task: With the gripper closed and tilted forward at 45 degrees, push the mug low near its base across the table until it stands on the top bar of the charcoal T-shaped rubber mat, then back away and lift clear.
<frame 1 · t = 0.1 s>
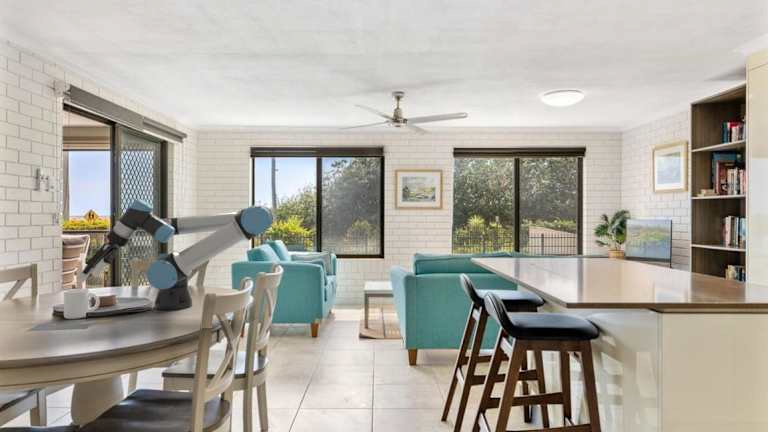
hand: (87, 277, 188), 15 cm above the table, tool tilted 35°, fingers open, 13 cm apart
mug: (82, 316, 188), on the table
t mat: (68, 323, 177), on the table
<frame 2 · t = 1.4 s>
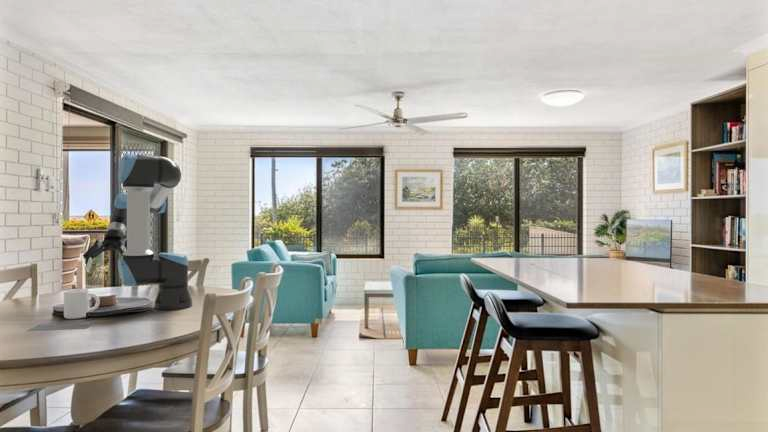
hand: (103, 270, 211), 15 cm above the table, tool tilted 45°, fingers open, 12 cm apart
nothing on the table moved.
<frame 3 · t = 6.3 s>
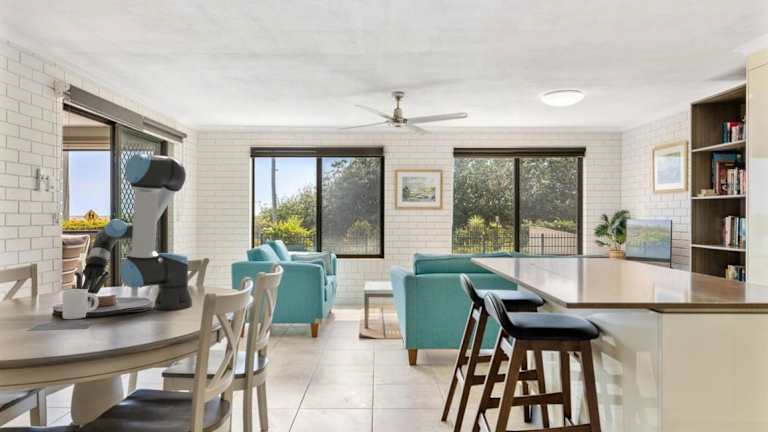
hand: (81, 307, 192), 3 cm above the table, tool tilted 45°, fingers closed
mug: (80, 316, 188), on the table, touching gripper
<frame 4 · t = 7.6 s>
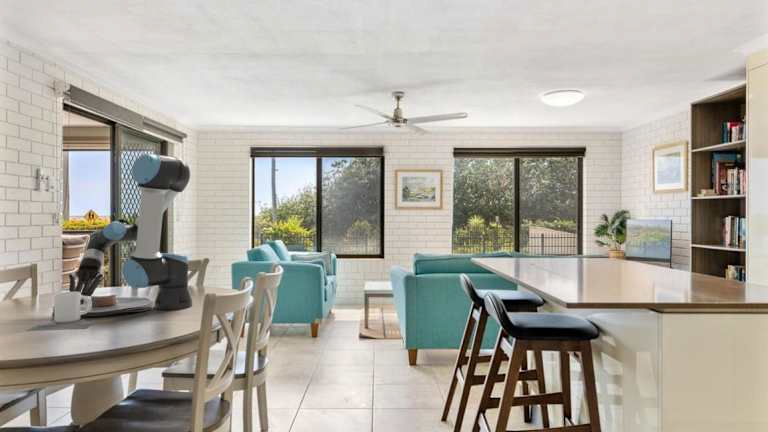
hand: (74, 310, 186), 2 cm above the table, tool tilted 45°, fingers closed
mug: (73, 320, 182), on the table, touching gripper
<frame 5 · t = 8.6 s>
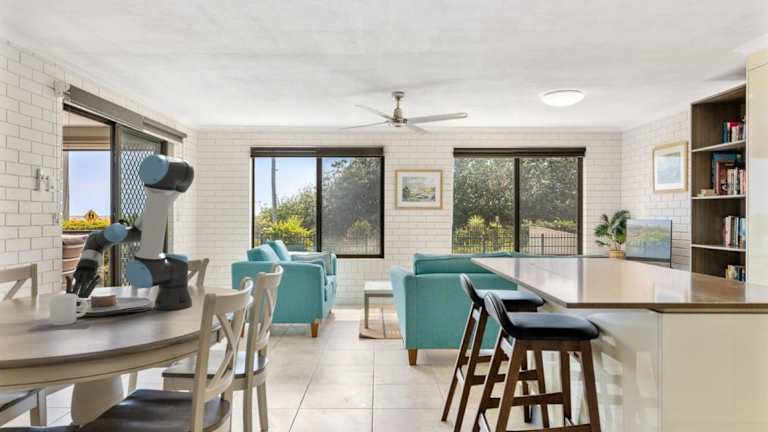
hand: (70, 312, 182), 3 cm above the table, tool tilted 45°, fingers closed
mug: (69, 323, 178), on the table, touching gripper, t mat
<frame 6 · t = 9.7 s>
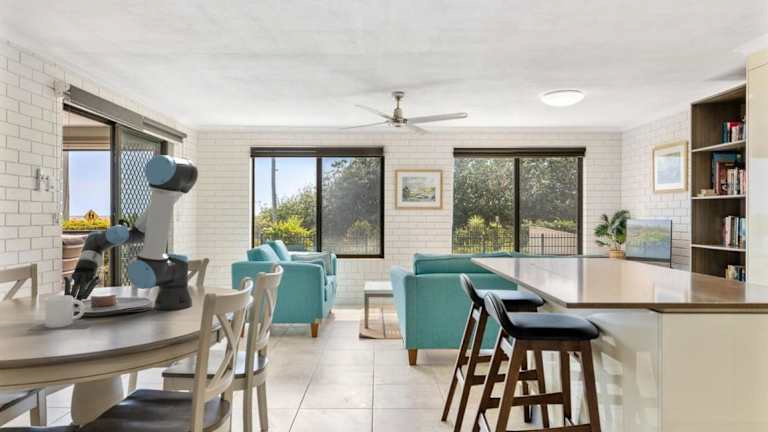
hand: (69, 314, 179), 3 cm above the table, tool tilted 45°, fingers closed
mug: (65, 325, 174), on the table, touching gripper, t mat
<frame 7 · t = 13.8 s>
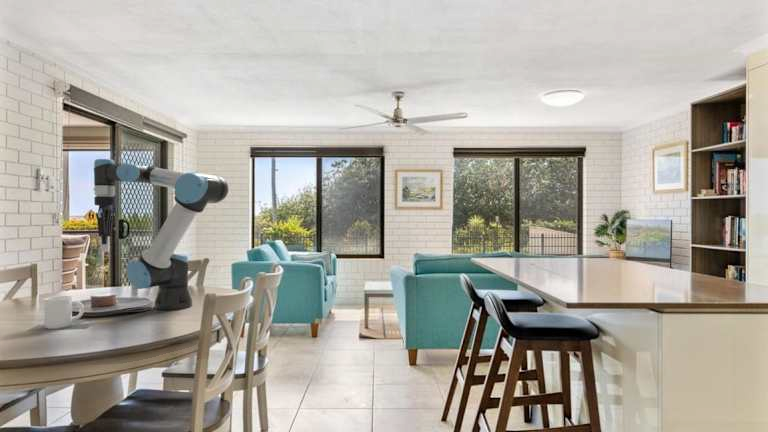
hand: (105, 251, 202), 24 cm above the table, tool pointing down, fingers closed
mug: (64, 326, 173), on the table, touching t mat
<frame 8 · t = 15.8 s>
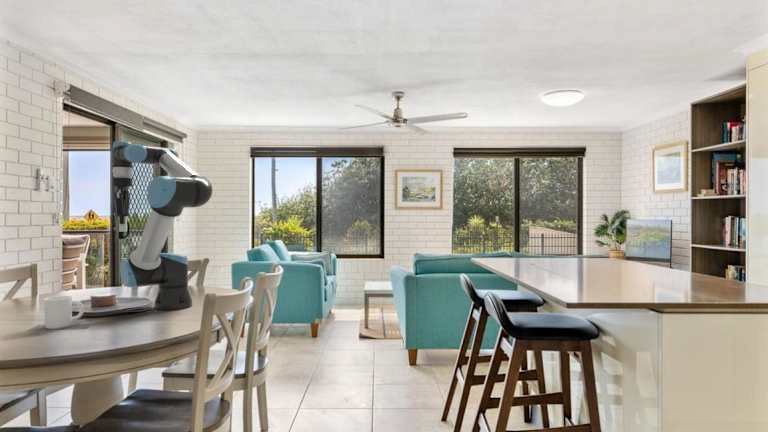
hand: (122, 231, 208), 32 cm above the table, tool pointing down, fingers closed
nothing on the table moved.
at the end: mug inside the target area (0.4 cm from its centre), on the table; mug tilted 0°; mug moved 15.5 cm from its start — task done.
